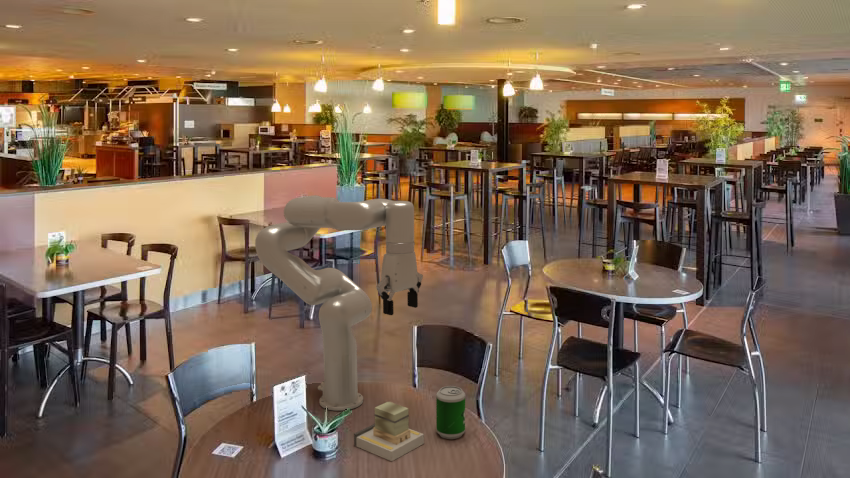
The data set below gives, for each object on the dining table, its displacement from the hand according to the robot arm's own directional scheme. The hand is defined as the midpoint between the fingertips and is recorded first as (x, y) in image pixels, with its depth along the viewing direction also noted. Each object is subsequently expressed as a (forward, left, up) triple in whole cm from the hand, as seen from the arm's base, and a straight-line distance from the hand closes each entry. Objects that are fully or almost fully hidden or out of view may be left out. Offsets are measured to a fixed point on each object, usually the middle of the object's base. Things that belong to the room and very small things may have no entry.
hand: (400, 310), depth 180 cm
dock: (+9, -14, -30) cm, 35 cm away
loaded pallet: (+10, -14, -28) cm, 33 cm away
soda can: (+17, 0, -31) cm, 35 cm away
